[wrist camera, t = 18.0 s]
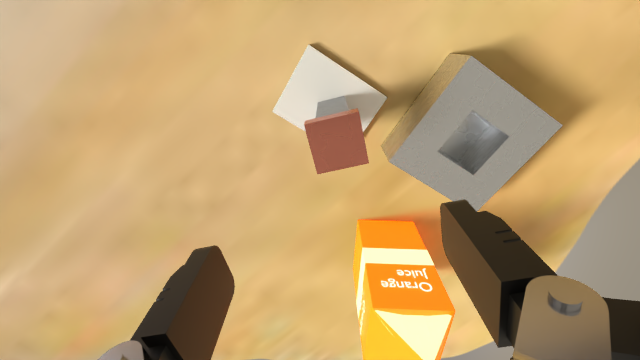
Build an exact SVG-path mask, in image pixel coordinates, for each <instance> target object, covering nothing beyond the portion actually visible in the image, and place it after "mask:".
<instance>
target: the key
mask: <svg viewBox="0 0 640 360" xmlns="http://www.w3.org/2000/svg"><path fill="white" fill-rule="evenodd" d="M304 127H305V130H306V134H307V138H308V141H309V145H310V149H311V152H312V156H313V160H314V163H315V167H316V171H317V174H321V173H326V172H330V171H335V170H340V169H344V168H349V167H353V166H358V165H363V164H367V163H369V162H368V156H367V151H366V146H365V140H364V135H363V130H362V124H361V119H360V114H359V110H358V108H356V109H352V110H349V108H348V105H347V102H346V99H345V96H341V97H337V98H333V99H329V100H325V101H321V102H318V104H317V111H316V118H314V119H310V120H306V121H305V123H304Z"/></svg>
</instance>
